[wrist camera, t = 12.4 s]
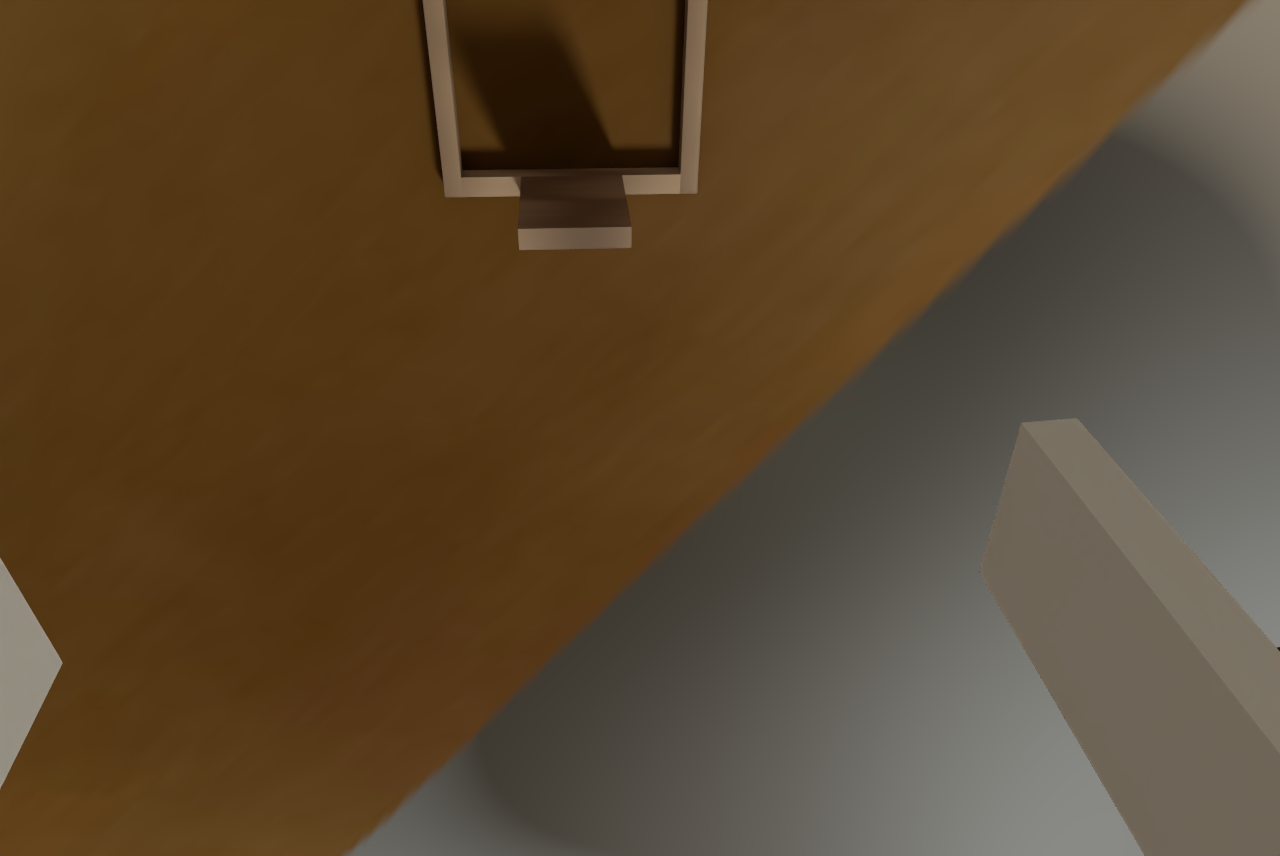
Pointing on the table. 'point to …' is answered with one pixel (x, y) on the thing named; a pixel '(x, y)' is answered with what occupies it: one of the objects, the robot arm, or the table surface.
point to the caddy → (569, 198)
